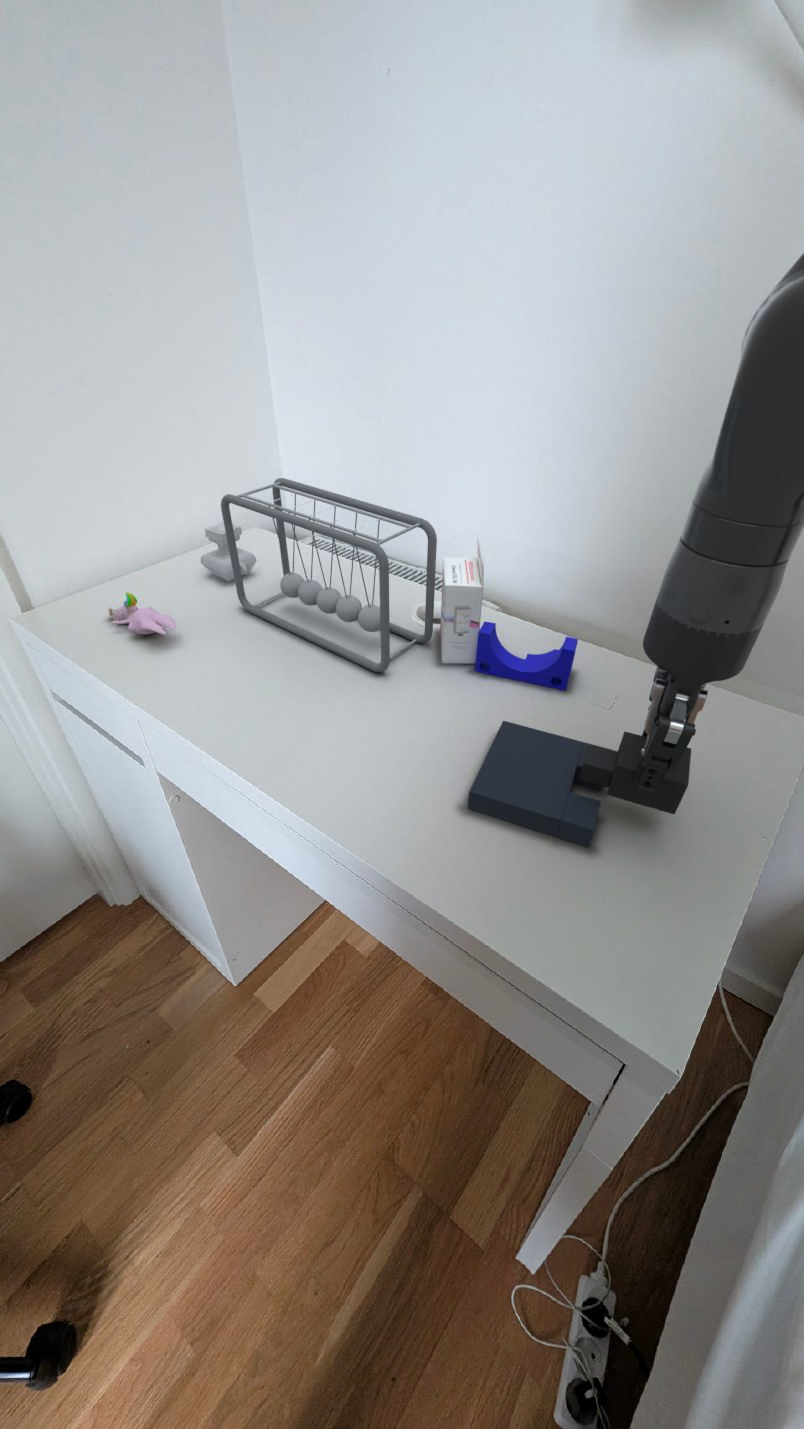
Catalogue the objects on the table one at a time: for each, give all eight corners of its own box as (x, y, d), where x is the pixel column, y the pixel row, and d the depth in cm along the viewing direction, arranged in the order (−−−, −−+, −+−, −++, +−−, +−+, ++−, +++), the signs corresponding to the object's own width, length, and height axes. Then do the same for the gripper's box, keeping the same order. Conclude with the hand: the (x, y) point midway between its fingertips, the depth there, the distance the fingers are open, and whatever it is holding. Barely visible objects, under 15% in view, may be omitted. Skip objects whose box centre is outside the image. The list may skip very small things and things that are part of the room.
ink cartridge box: (438, 631, 85) (443, 534, 76) (471, 632, 85) (481, 534, 76) (440, 664, 78) (446, 562, 69) (477, 665, 78) (487, 562, 69)
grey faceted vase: (199, 574, 99) (187, 526, 94) (230, 562, 103) (221, 515, 98) (232, 589, 95) (223, 540, 90) (263, 576, 99) (256, 527, 94)
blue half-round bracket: (570, 672, 77) (579, 633, 73) (565, 690, 74) (574, 651, 70) (483, 654, 80) (487, 615, 76) (474, 671, 77) (478, 632, 73)
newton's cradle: (433, 645, 82) (439, 522, 71) (386, 679, 75) (384, 548, 64) (288, 584, 96) (274, 474, 85) (238, 608, 90) (216, 492, 79)
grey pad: (607, 766, 63) (612, 749, 61) (588, 847, 54) (594, 830, 53) (500, 737, 67) (503, 720, 65) (467, 808, 58) (469, 791, 56)
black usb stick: (678, 778, 56) (691, 748, 53) (674, 814, 53) (688, 785, 50) (586, 752, 59) (594, 723, 56) (576, 786, 55) (585, 756, 53)
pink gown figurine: (103, 631, 87) (154, 652, 78) (87, 594, 84) (137, 611, 75) (141, 615, 91) (193, 634, 82) (127, 579, 87) (180, 594, 78)
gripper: (772, 665, 37) (686, 837, 47) (762, 574, 47) (693, 733, 58) (649, 639, 39) (593, 808, 50) (665, 558, 49) (616, 713, 60)
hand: (647, 767), depth 54 cm, fingers closed on black usb stick, 5 cm apart
